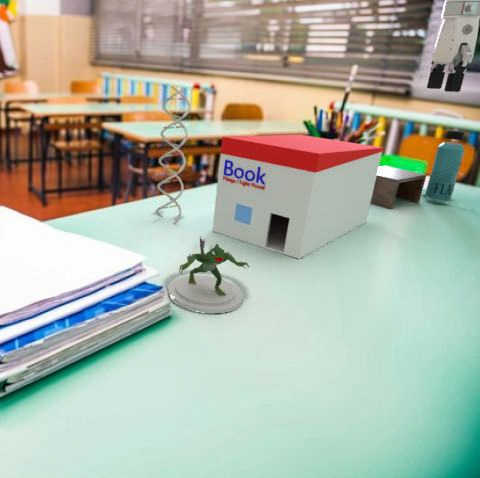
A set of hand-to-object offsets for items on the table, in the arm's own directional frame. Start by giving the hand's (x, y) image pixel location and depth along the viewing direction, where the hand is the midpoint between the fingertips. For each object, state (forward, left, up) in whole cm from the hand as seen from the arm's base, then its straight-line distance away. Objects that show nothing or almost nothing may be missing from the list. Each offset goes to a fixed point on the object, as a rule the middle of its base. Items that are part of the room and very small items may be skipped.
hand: (442, 90), depth 118 cm
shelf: (+10, -4, -31) cm, 32 cm away
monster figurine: (-11, +80, -31) cm, 87 cm away
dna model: (+22, +63, -31) cm, 74 cm away
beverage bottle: (+2, -16, -31) cm, 35 cm away
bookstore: (+6, +39, -31) cm, 50 cm away
